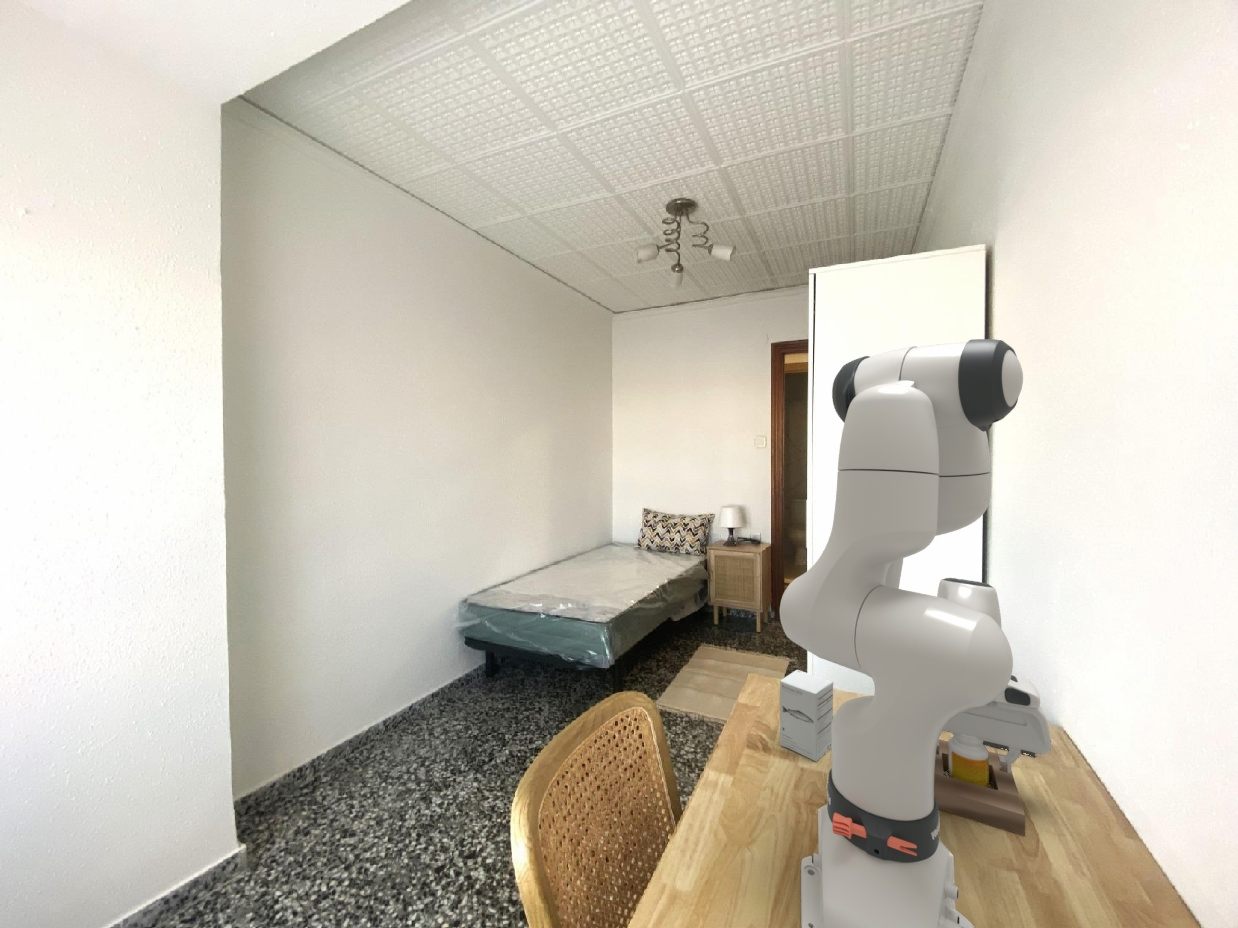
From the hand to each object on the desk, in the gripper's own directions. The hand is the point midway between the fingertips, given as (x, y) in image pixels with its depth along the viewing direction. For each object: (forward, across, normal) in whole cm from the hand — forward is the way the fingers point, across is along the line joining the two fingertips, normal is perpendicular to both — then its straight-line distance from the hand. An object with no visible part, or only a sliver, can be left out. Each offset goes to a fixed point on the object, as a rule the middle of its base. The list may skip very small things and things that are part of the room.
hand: (968, 760), depth 79 cm
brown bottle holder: (+5, 0, 0) cm, 5 cm away
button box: (+5, +7, +20) cm, 22 cm away
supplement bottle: (+5, 0, 0) cm, 5 cm away
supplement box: (+5, -25, -1) cm, 25 cm away
